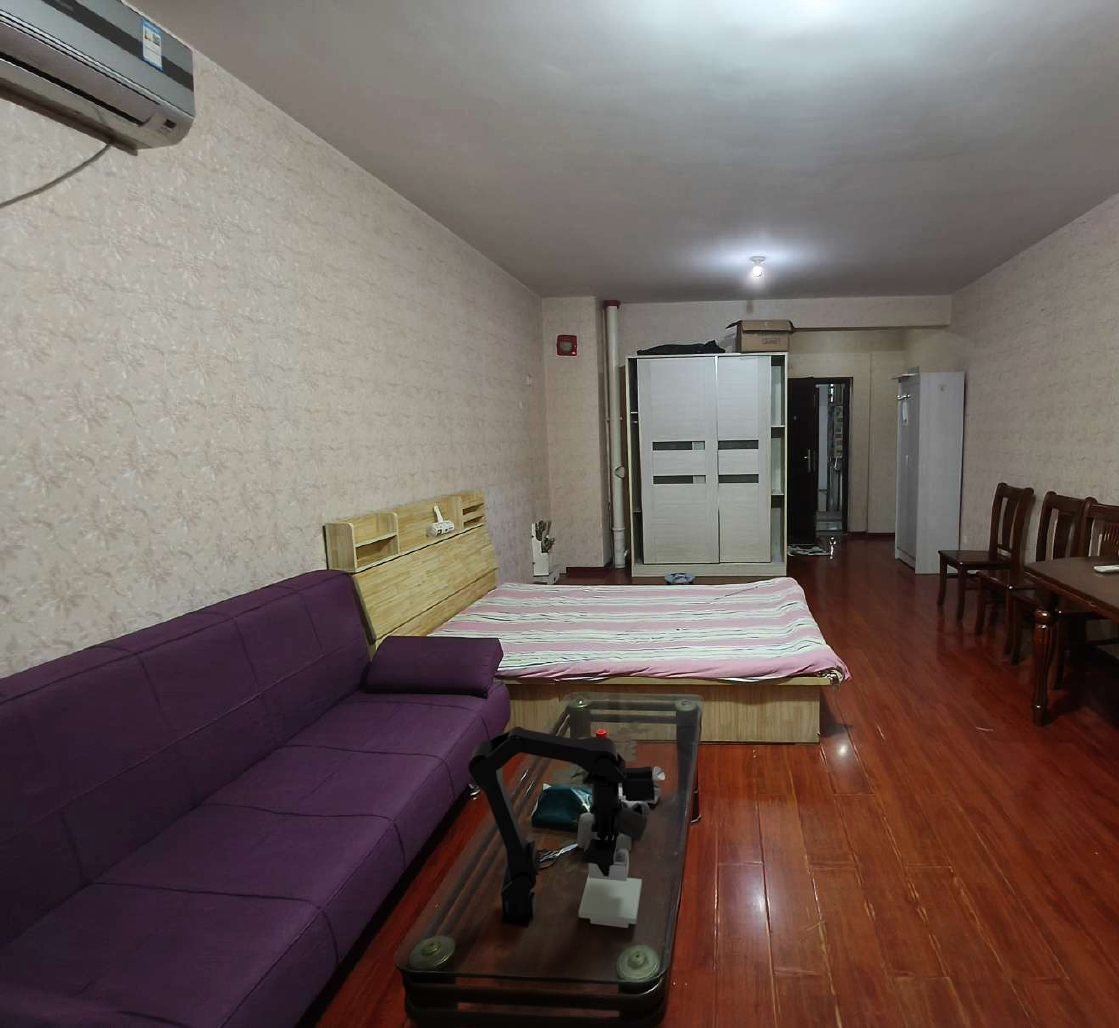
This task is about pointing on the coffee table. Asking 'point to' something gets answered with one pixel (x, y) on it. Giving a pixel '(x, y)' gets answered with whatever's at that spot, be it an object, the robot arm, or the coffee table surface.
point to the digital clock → (586, 833)
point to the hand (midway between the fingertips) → (608, 867)
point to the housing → (613, 868)
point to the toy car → (657, 775)
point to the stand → (611, 901)
